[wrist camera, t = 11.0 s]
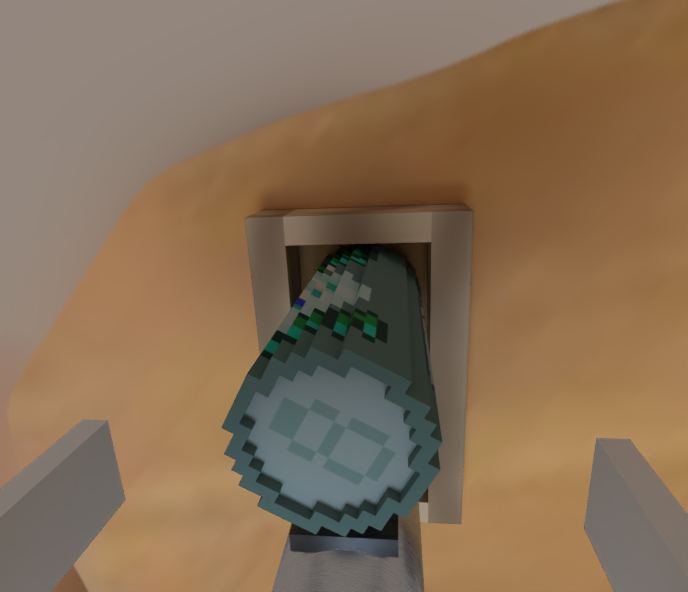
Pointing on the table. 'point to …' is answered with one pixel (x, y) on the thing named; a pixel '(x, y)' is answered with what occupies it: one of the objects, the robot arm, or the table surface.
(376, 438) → the can
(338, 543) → the grey post
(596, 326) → the table surface
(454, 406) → the rectangular frame
